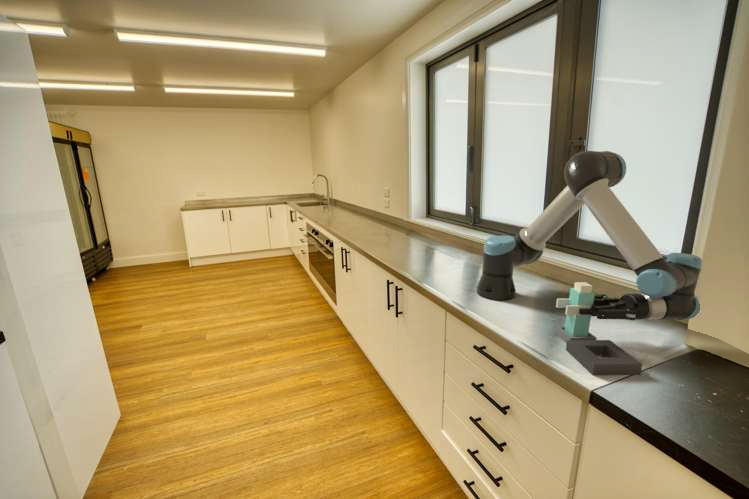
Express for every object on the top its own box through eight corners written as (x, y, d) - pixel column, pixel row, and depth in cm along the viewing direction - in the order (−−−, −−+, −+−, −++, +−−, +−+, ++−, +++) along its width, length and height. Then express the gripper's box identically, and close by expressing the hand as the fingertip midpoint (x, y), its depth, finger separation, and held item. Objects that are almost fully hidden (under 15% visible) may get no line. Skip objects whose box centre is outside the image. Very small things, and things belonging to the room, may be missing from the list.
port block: (565, 349, 97) (567, 340, 96) (607, 349, 97) (609, 340, 96) (592, 374, 85) (594, 364, 84) (640, 374, 85) (642, 363, 84)
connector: (564, 331, 104) (571, 281, 100) (578, 331, 104) (586, 281, 101) (572, 338, 100) (580, 286, 96) (587, 338, 100) (595, 286, 96)
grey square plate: (555, 333, 106) (556, 326, 106) (579, 333, 106) (580, 326, 106) (569, 345, 99) (570, 338, 98) (595, 345, 99) (596, 337, 98)
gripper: (662, 332, 93) (577, 332, 92) (617, 306, 110) (545, 306, 109) (668, 306, 91) (581, 306, 91) (621, 284, 108) (548, 284, 108)
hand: (561, 306), depth 100 cm, fingers closed on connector, 4 cm apart
